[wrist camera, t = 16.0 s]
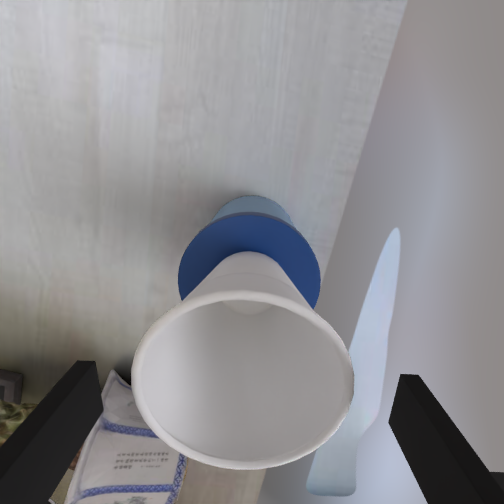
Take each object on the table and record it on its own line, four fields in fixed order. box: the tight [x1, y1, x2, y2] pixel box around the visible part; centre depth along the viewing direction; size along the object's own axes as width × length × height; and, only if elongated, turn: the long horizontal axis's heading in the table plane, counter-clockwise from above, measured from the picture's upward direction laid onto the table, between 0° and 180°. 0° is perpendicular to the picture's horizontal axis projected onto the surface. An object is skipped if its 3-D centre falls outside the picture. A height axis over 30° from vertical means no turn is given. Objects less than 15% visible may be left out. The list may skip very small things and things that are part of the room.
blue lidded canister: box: [178, 196, 321, 309], centre depth 29 cm, size 12×12×14 cm
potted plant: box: [0, 369, 188, 504], centre depth 35 cm, size 18×18×30 cm
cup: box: [131, 251, 354, 470], centre depth 18 cm, size 10×10×11 cm
